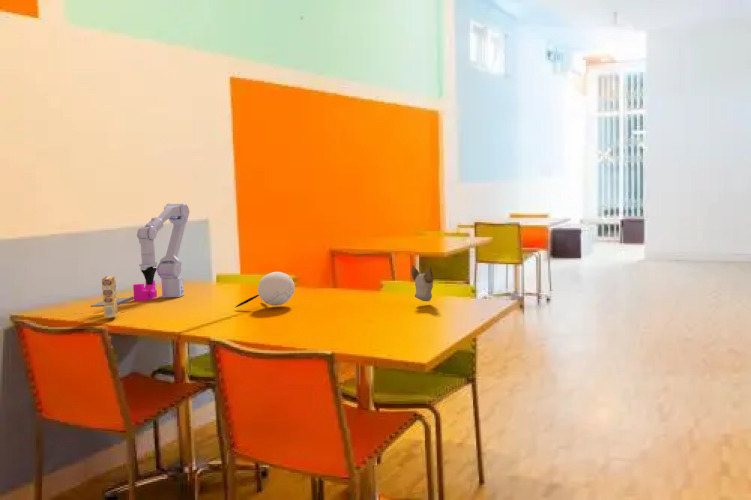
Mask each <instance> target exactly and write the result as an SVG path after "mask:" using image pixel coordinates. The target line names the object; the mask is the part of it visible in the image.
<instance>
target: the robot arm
mask: <svg viewBox="0 0 751 500" xmlns="http://www.w3.org/2000/svg"><path fill="white" fill-rule="evenodd" d="M190 212H191V211H190V208H189V206H188V204H187V203H185V202H183V203H167V204H166V205H165V206H163V210H162V212H161V213H160V214H159V215H158V216H157V217H156V216H155V217H151V220H150V221H149V222H148V223H146V224H145V225H144V226H141V227H139V228H138V229H137V234H136V237H137V239H138V243H139V244H140V255H141V256H140V257H141V263H139V267H140V269H139V270H140V271H141V273H142V275H143V276H144V279H145V283H147V285H152V284H153V280H154V278H155V275H156V274H157V275H158V277H159V278H160V280H161V281H160V282H161V293H162V294H161V295H160V296H159V297H158V298H181V297H182V296H184V295H185V285H184V279H183V277H179V276H180V275H181V273H182V261H181V260H180V259H179V258H178V257H179V255H180V250H181V246H182V243H183V238H184V234H185V231H186V226H187V225H186V224H187V222H188V220H189V216H190ZM167 220H168V221H169V222H170V223H171V224H173V227H172V232H171V233H170V238H169V243H168V245H167V250H166V253H165V255H164V256H163V257H162V258H161V259H160V260H159V263H157V262H156V255H155V254H156V253H155V239H156V238H157V235H158V233H159V231H161V229H162V228H163V227H164V223H166V221H167Z"/></svg>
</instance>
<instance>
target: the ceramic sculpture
mask: <svg viewBox="0 0 751 500" xmlns="http://www.w3.org/2000/svg"><path fill="white" fill-rule="evenodd" d="M432 271H433V270H432V266H429V267H428V268H427V269H426V270H425V272H422V273H420V272H419V270H418V269H417V268H416V267H415V265H412V267H411V271H410V272H411V278H412V280H413V281H414V284H415V293H414V298H416V299H418V300H420V301H421V302H431V300H432V298H433V294H432V290H433V287H434V274H433V272H432Z"/></svg>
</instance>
